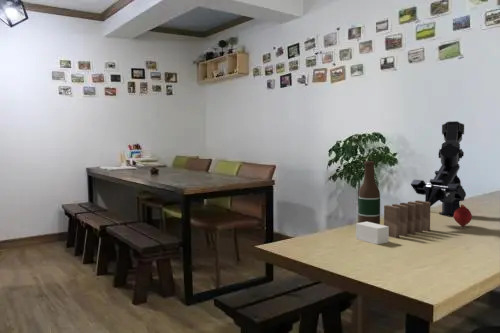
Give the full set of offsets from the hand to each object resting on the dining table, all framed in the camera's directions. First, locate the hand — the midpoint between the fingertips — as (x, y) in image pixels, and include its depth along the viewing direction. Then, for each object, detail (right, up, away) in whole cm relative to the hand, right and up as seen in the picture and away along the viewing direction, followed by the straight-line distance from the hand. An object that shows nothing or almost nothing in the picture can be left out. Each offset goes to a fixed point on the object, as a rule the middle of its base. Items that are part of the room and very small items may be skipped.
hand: (426, 207), depth 147 cm
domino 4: (-5, -8, -2) cm, 10 cm away
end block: (-23, -9, -14) cm, 28 cm away
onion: (+14, -7, +4) cm, 17 cm away
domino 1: (-15, -9, -9) cm, 20 cm away
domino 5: (-2, -8, 0) cm, 8 cm away
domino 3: (-9, -8, -5) cm, 13 cm away
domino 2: (-12, -9, -7) cm, 16 cm away
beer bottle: (-19, -8, +6) cm, 21 cm away
